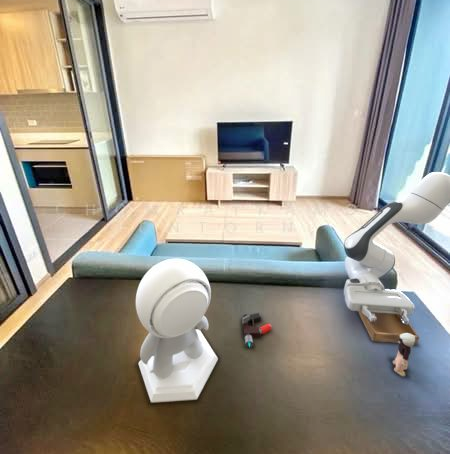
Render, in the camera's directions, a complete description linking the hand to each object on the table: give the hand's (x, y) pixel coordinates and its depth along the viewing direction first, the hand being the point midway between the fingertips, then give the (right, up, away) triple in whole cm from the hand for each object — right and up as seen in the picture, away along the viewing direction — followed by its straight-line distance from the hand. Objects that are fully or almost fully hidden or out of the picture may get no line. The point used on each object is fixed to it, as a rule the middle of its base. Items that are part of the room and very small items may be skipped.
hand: (390, 321), depth 76 cm
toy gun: (-40, -7, +6) cm, 41 cm away
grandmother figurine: (0, -11, -4) cm, 12 cm away
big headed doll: (-64, -10, -3) cm, 65 cm away
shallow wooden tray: (+4, -6, +10) cm, 12 cm away
